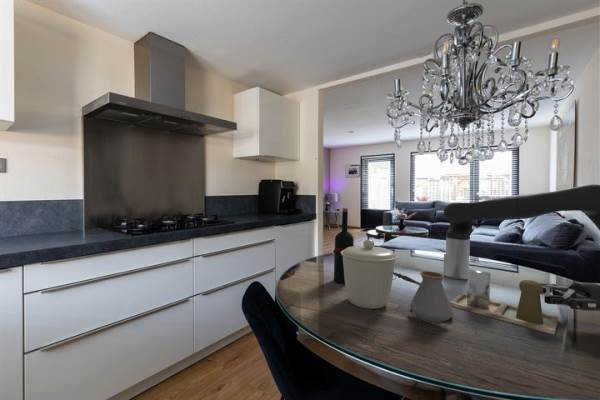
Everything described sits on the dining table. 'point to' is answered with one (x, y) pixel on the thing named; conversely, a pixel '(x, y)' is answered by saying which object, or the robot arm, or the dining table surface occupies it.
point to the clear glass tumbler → (478, 289)
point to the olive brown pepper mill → (530, 302)
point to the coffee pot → (430, 298)
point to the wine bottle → (341, 248)
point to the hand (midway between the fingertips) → (534, 293)
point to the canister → (368, 274)
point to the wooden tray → (507, 314)
